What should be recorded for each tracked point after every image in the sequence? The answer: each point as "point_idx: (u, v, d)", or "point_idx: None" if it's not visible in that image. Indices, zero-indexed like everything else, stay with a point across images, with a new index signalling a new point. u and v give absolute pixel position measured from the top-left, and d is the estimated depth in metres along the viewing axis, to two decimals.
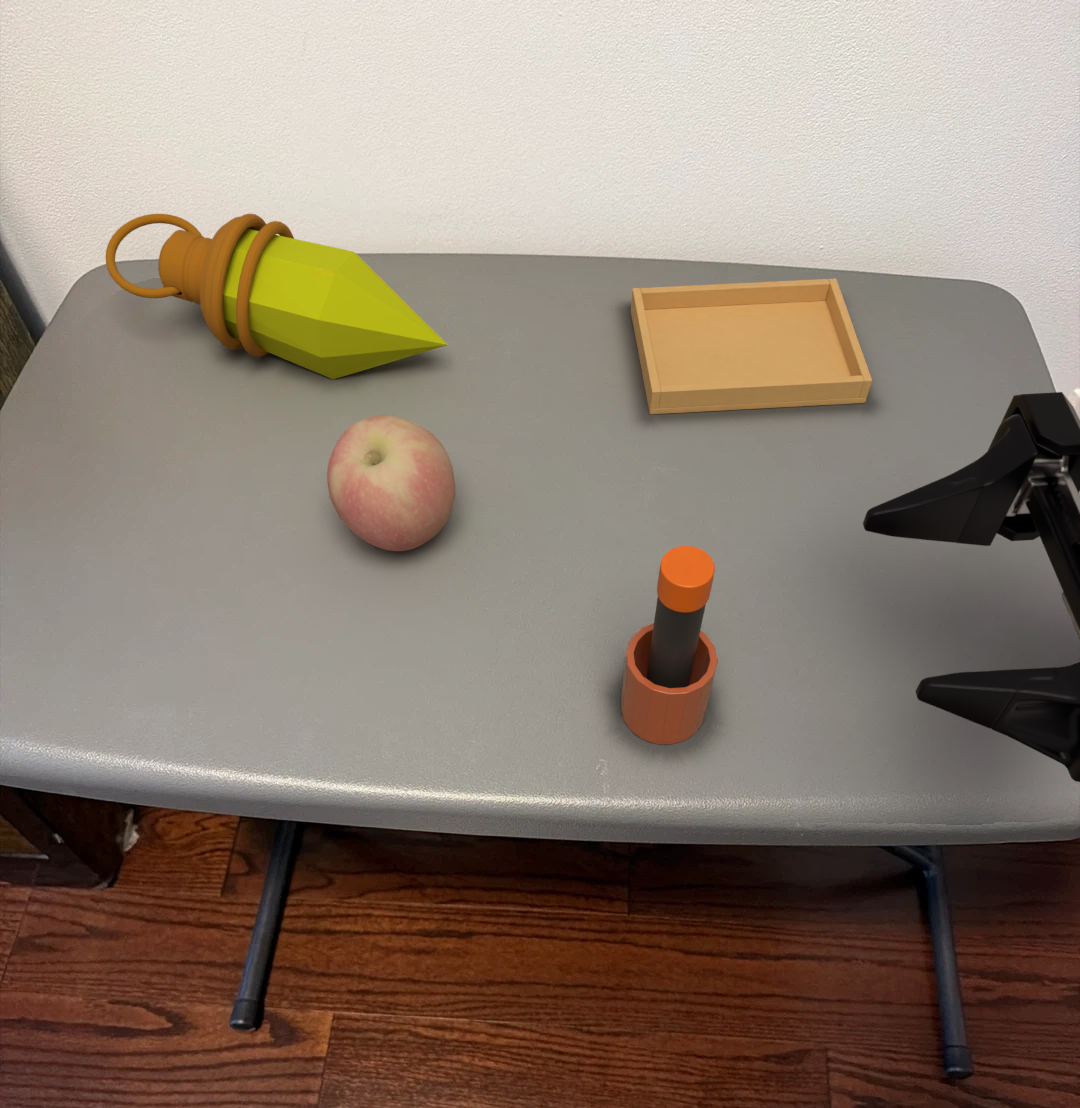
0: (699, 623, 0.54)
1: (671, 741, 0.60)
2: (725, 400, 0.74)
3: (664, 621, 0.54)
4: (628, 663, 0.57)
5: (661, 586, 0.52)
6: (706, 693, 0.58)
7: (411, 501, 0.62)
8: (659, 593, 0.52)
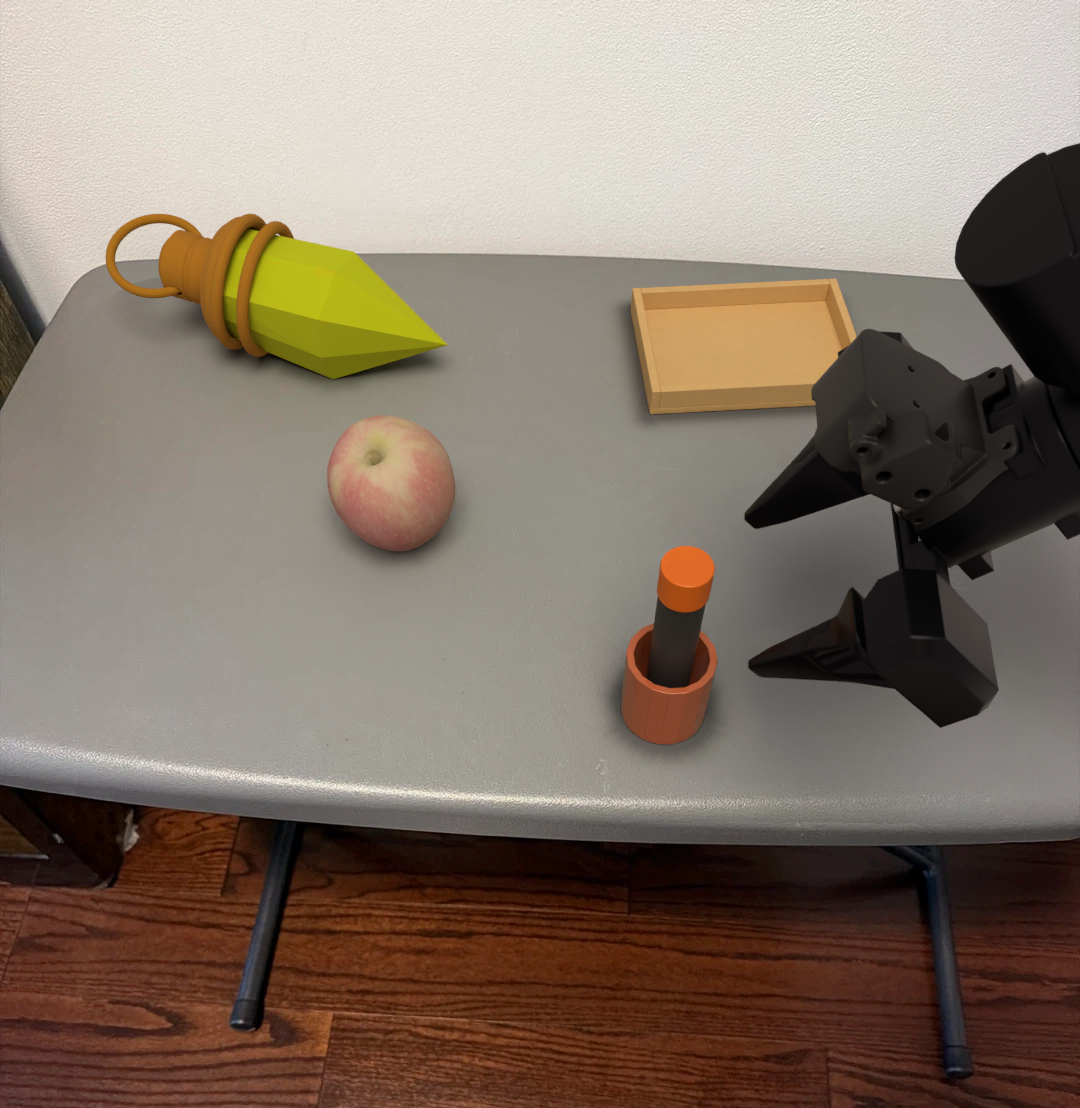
0: (699, 623, 0.54)
1: (671, 741, 0.60)
2: (725, 400, 0.74)
3: (664, 621, 0.54)
4: (628, 663, 0.57)
5: (661, 586, 0.52)
6: (706, 693, 0.58)
7: (411, 501, 0.62)
8: (659, 593, 0.52)
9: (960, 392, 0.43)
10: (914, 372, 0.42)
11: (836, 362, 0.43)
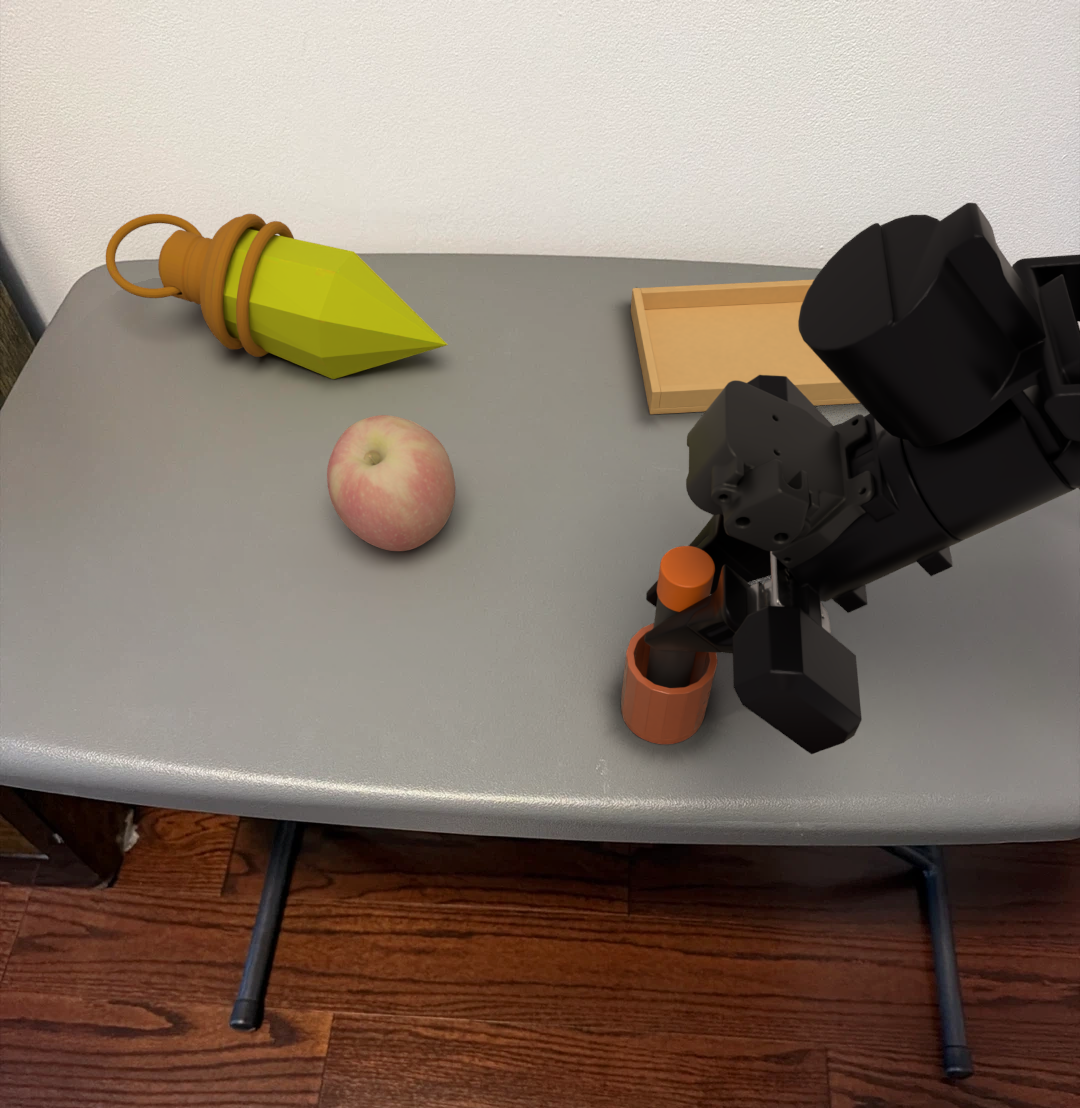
0: None
1: (671, 741, 0.60)
2: None
3: None
4: (628, 663, 0.57)
5: (661, 586, 0.52)
6: (706, 693, 0.58)
7: (411, 501, 0.62)
8: (659, 593, 0.52)
9: (824, 439, 0.45)
10: (778, 421, 0.45)
11: (707, 411, 0.45)
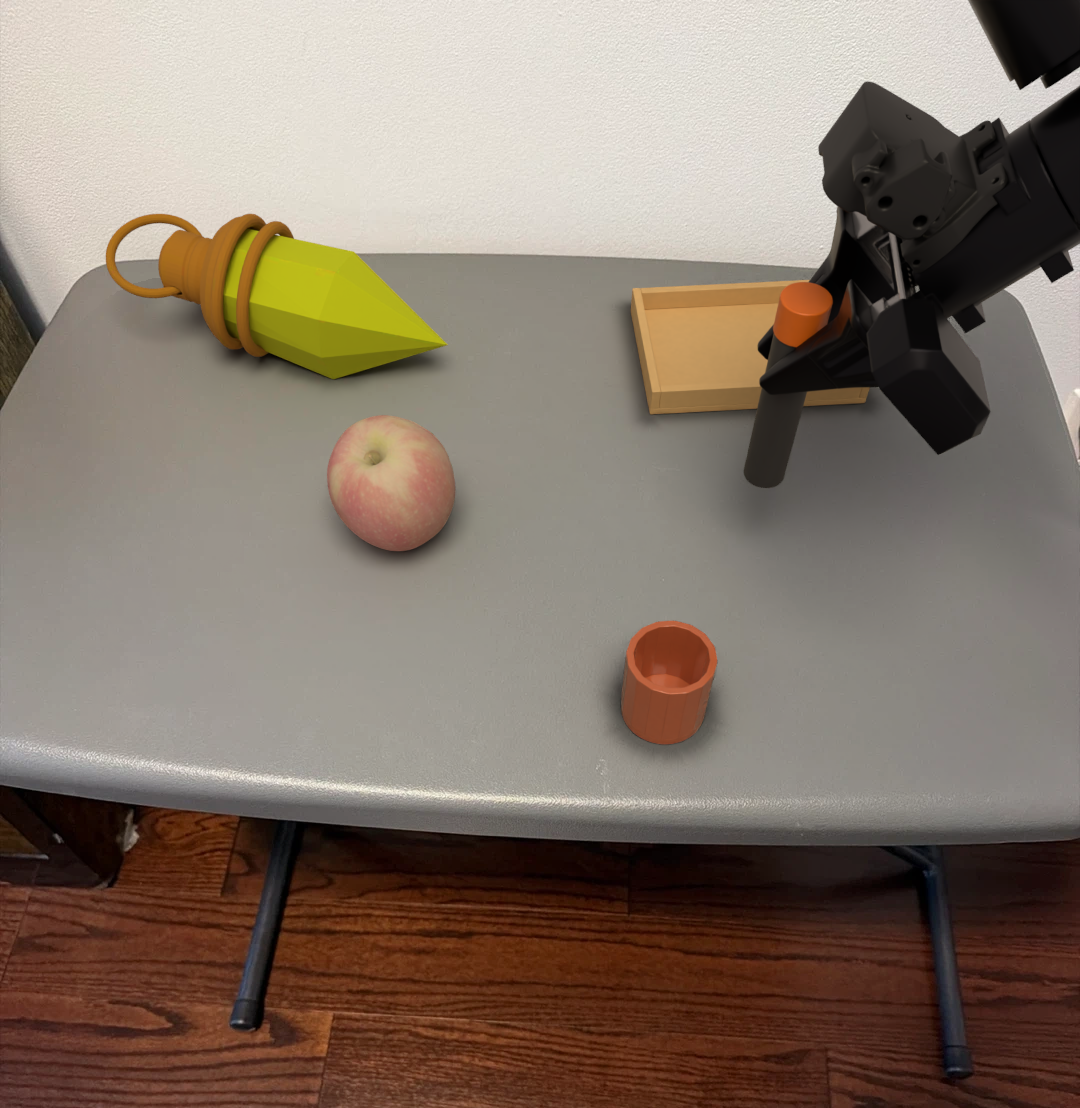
0: None
1: (671, 741, 0.60)
2: (725, 400, 0.74)
3: None
4: (628, 663, 0.57)
5: (780, 320, 0.54)
6: (706, 693, 0.58)
7: (411, 501, 0.62)
8: (776, 330, 0.54)
9: (953, 142, 0.47)
10: (911, 120, 0.47)
11: (841, 115, 0.47)
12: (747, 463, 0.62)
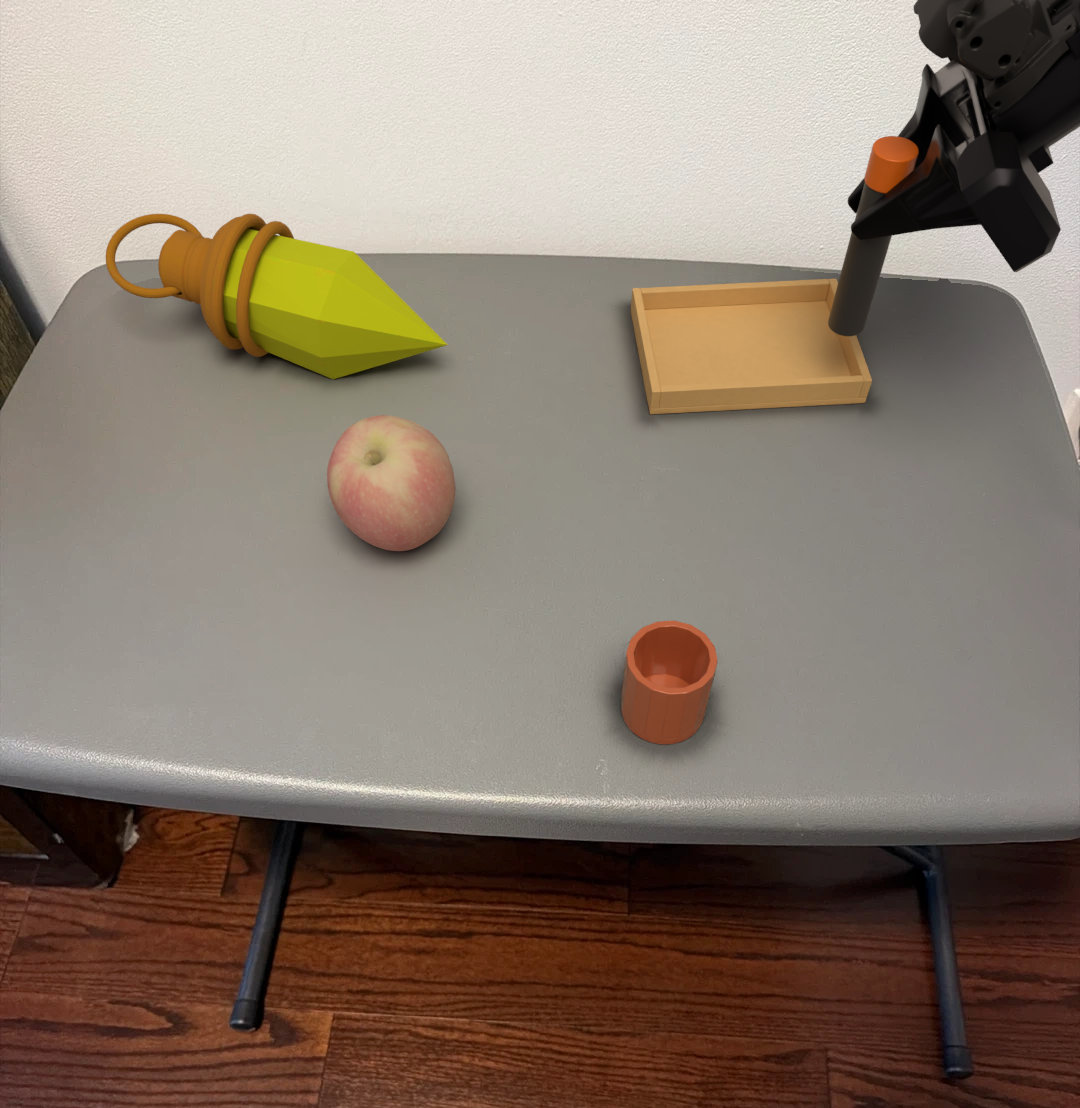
0: None
1: (671, 741, 0.60)
2: (725, 400, 0.74)
3: None
4: (628, 663, 0.57)
5: (872, 168, 0.62)
6: (706, 693, 0.58)
7: (411, 501, 0.62)
8: (868, 178, 0.63)
9: (1030, 0, 0.56)
10: None
11: None
12: (832, 313, 0.71)
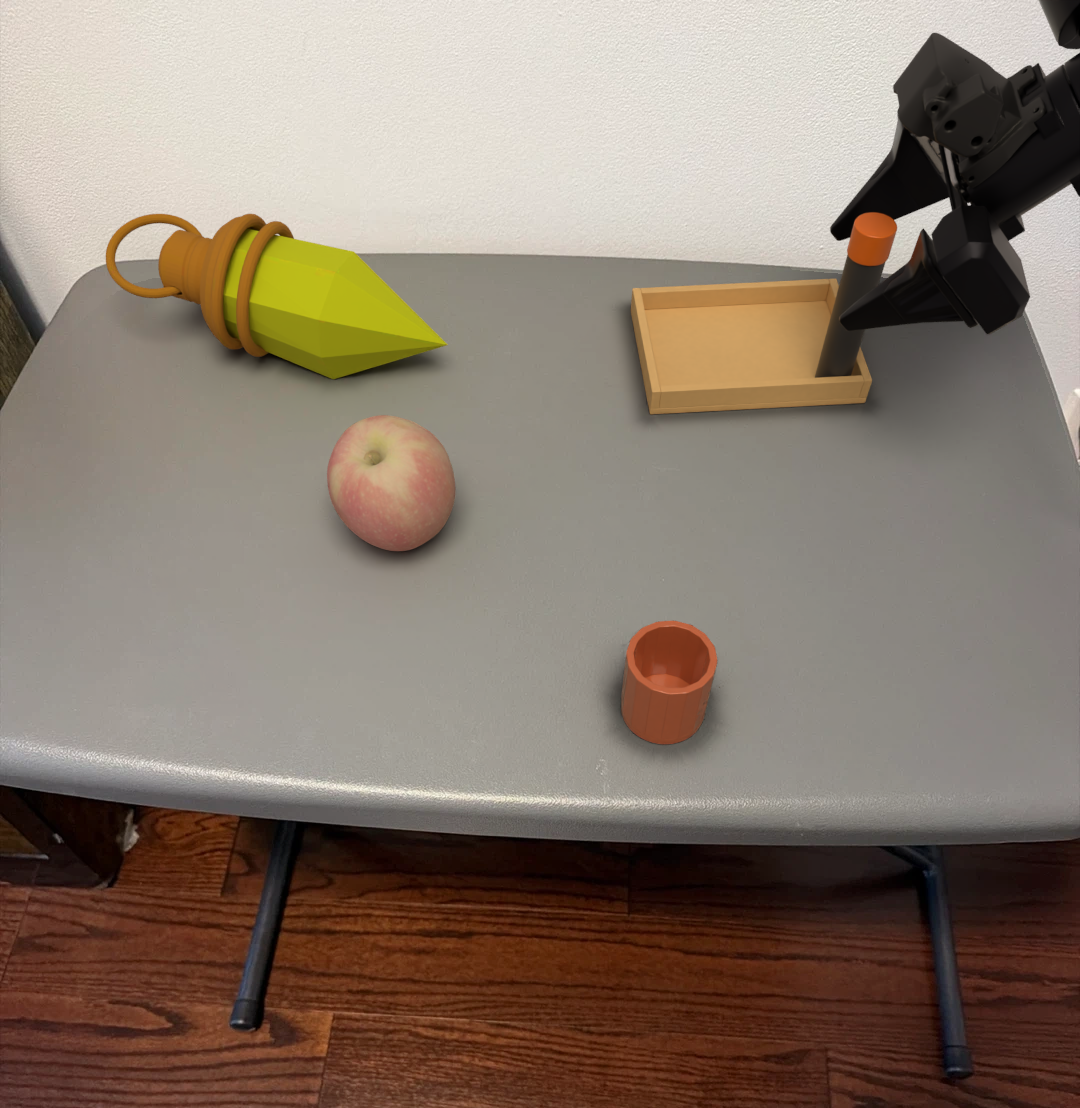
0: (878, 282, 0.68)
1: (671, 741, 0.60)
2: (725, 400, 0.74)
3: (851, 279, 0.68)
4: (628, 663, 0.57)
5: (854, 243, 0.66)
6: (706, 693, 0.58)
7: (411, 501, 0.62)
8: (850, 251, 0.67)
9: (1002, 82, 0.59)
10: (969, 63, 0.59)
11: (912, 60, 0.59)
12: (818, 371, 0.75)
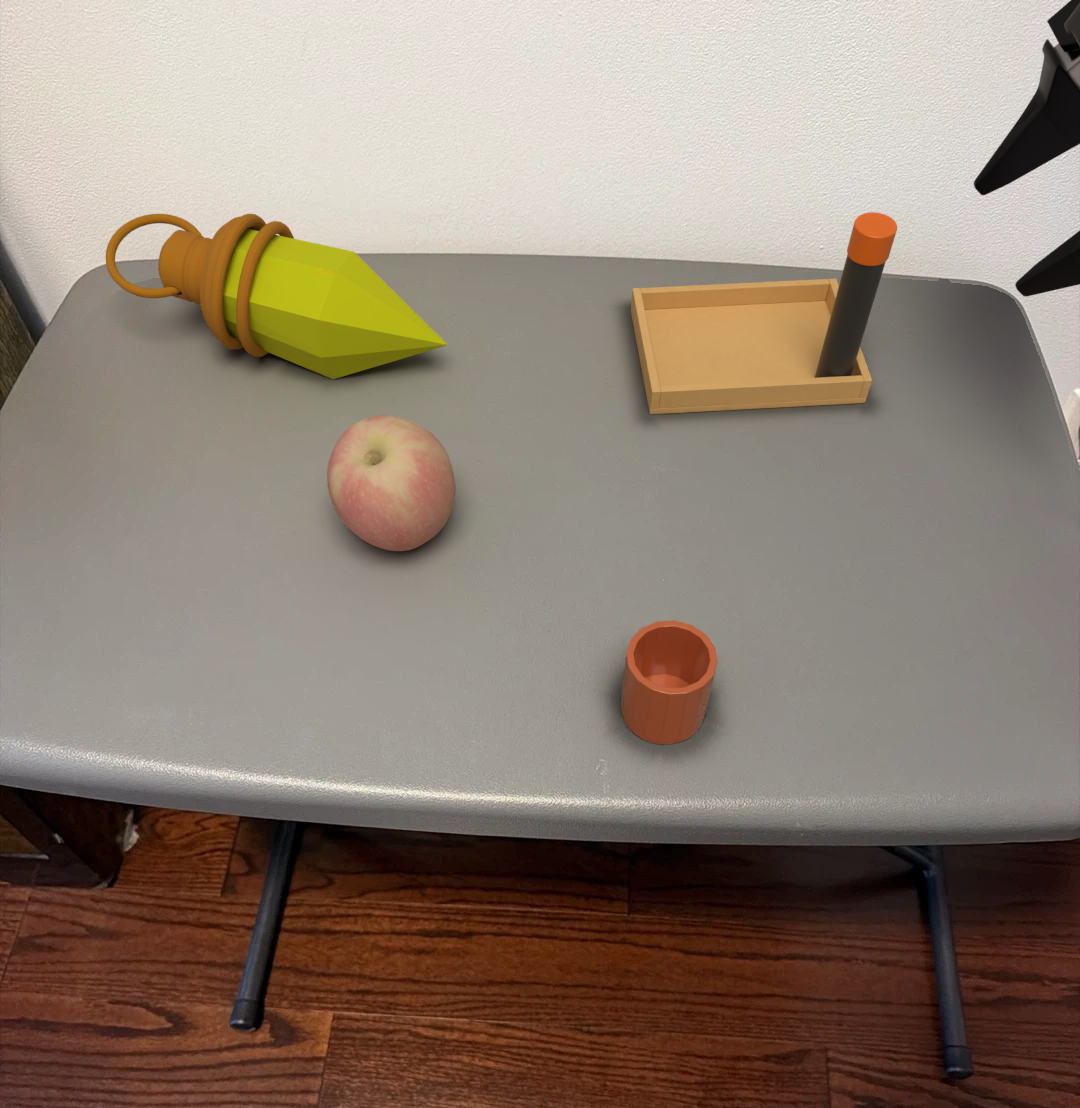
0: (878, 282, 0.68)
1: (671, 741, 0.60)
2: (725, 400, 0.74)
3: (851, 279, 0.68)
4: (628, 663, 0.57)
5: (854, 243, 0.66)
6: (706, 693, 0.58)
7: (411, 501, 0.62)
8: (850, 251, 0.67)
9: None
10: None
11: None
12: (818, 371, 0.75)
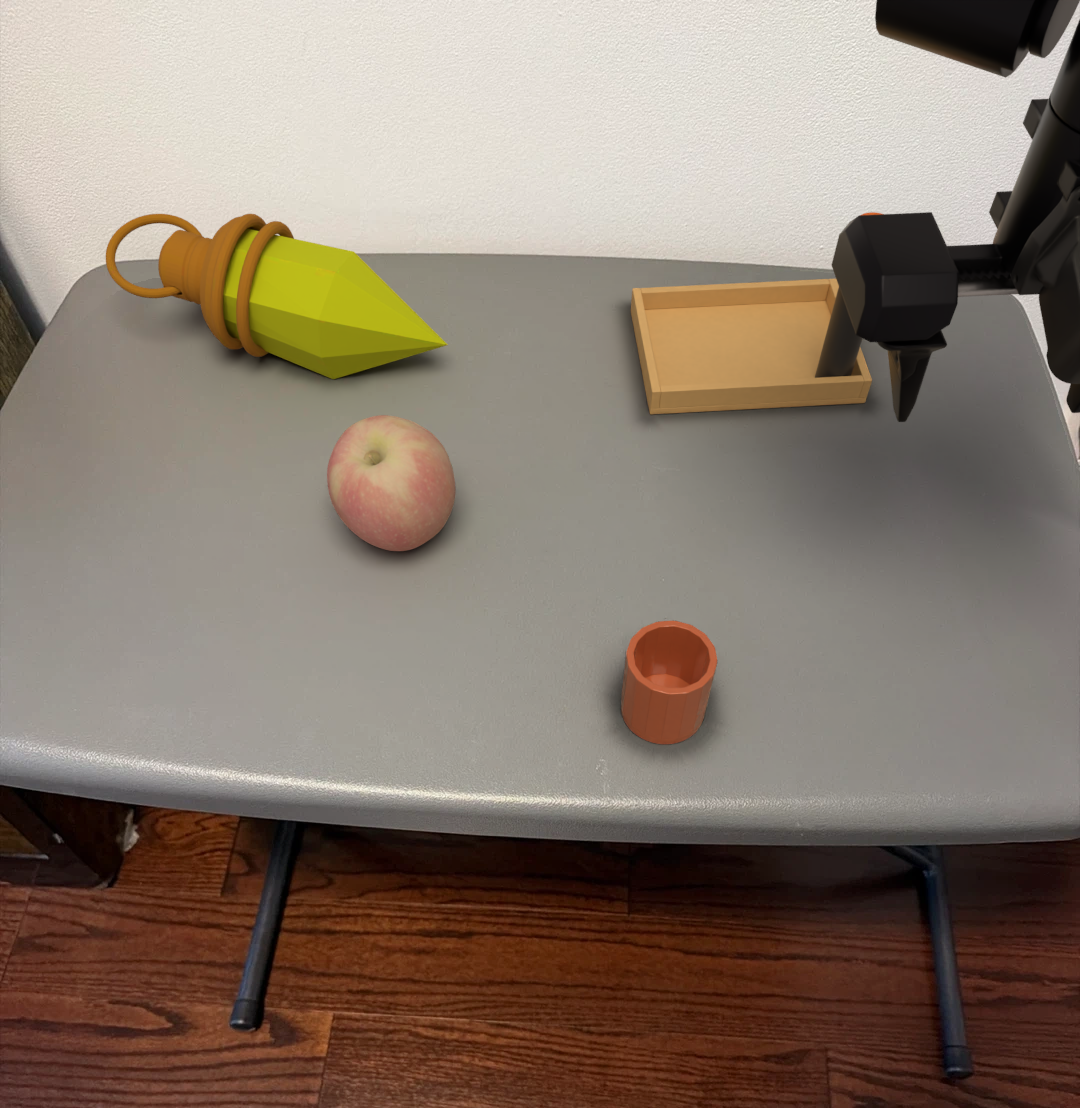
0: None
1: (671, 741, 0.60)
2: (725, 400, 0.74)
3: None
4: (628, 663, 0.57)
5: None
6: (706, 693, 0.58)
7: (411, 501, 0.62)
8: None
9: None
10: None
11: None
12: (818, 371, 0.75)
